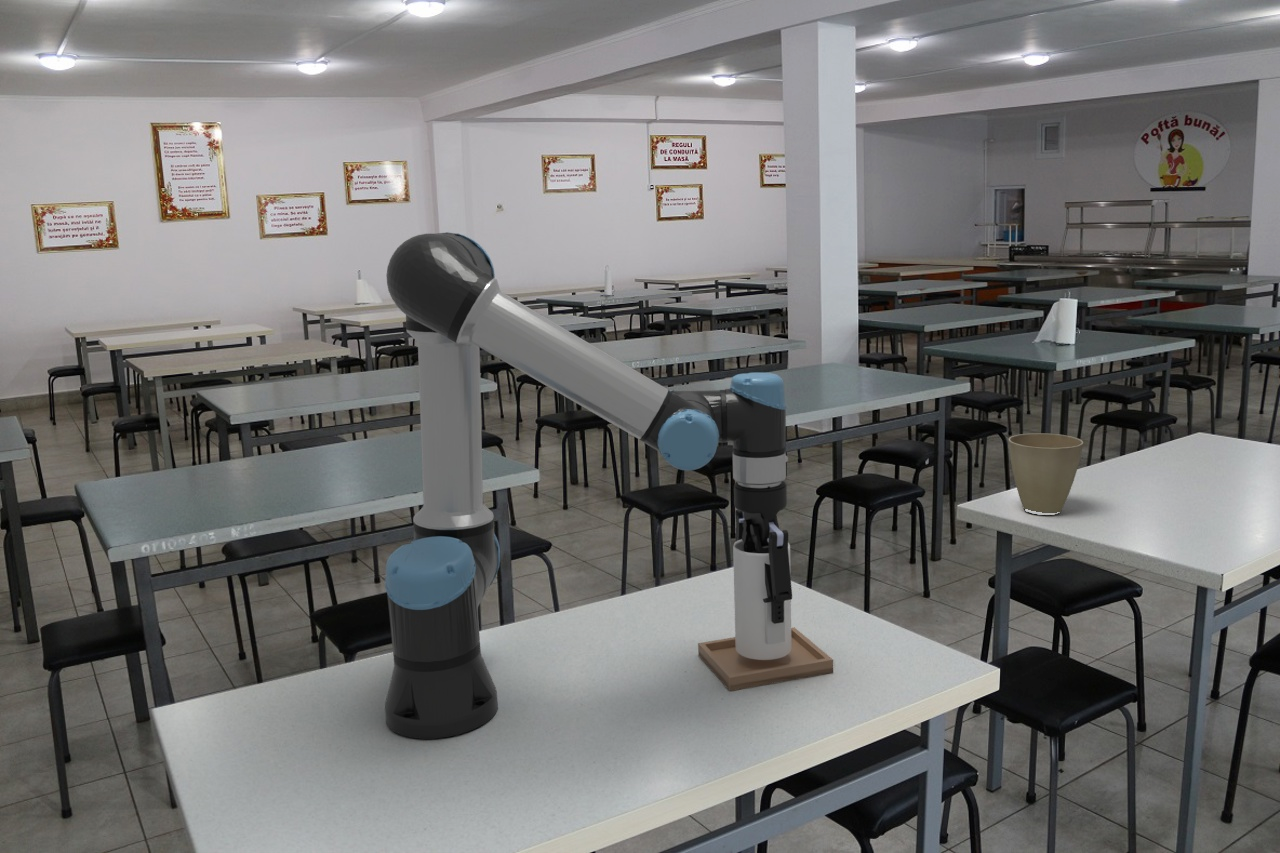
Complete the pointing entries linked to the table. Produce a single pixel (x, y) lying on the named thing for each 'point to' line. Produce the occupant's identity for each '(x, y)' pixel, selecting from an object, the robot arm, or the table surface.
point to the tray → (764, 663)
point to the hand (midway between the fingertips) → (762, 630)
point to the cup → (755, 606)
